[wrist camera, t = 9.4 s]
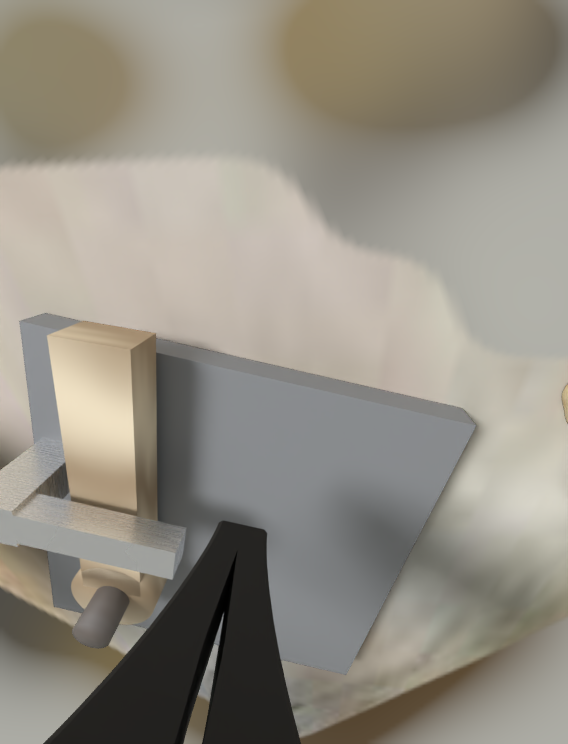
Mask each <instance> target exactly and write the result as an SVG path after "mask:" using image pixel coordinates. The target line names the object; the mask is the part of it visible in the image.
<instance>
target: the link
mask: <svg viewBox="0 0 568 744" xmlns="http://www.w3.org/2000/svg"><path fill="white" fill-rule="evenodd" d="M47 340H48V346H49V353H50V360H51V367H52V374H53V381H54V388H55V394H56V401H57V408H58V415H59V422H60V429H61V436H62V442H63V449H64V456H65V463H66V470H67V477H68V483H69V490H70V497H71V501H73V502H77V503H81V504H86V505H90V506H94V507H99V508H103V509H107V510H111V511H116V512H120V513H124V514H129V515H133V516H137V517H142V518H146V519H150V520H155V521H158V517H157V398H156V333H151V332H146V331H140V330H134V329H128V328H122V327H117V326H111V325H105V324H99V323H93V322H88V321H82V322H79V323H77V324H74V325H72V326H69V327H67V328H64V329H62V330H59V331H57V332H54V333H51V334H49V335H47ZM79 559H80V566H81V568H80V570H79V571H78V573H77V574H76V575H75V577H74V578H73V580H72V583H71V590H72V594H73V596H74V598H75V600H76V601H77V602H78V604H79V605H80V606H81V607H82V608H83V609H85V610H84V611H83V613H82V615H81V616H80V618H79V620H78V621H77V623H76V624H75V626H74V628H73V630H72V633H73V636H74V638H75V639H76V640H77V641H79V642H80V643H82V644H84V645H85V646H88V647H92V648H104V647H106V646H108V645H109V643H110V641H111V639H112V637H113V635H114V633H115V631H116V629H117V627H118V625H119V624H122V625H132V624H138V623H141V622H143V621H145V620H147V619H148V618H149V617H150V616H151V615H152V613H153V611H154V609H155V606H156V604H157V602H158V599H159V597H160V595H161V592H162V590H163V588H164V586H165V583H166V581H167V578H163V577H158V576H154V575H150V574H145V573H141V572H137V571H132V570H128V569H124V568H120V567H115V566H111V565H107V564H102V563H98V562H94V561H90V560H85V559H81V558H79Z"/></svg>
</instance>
